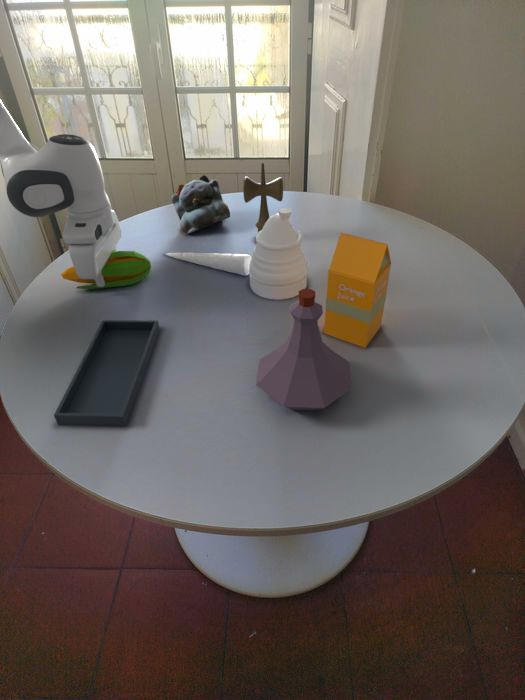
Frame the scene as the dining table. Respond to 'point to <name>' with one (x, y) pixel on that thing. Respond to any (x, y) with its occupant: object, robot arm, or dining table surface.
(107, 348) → the tray
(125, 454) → the dining table surface
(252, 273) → the honey pot
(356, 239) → the orange juice
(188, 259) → the unicorn horn
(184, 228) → the lucky cat figurine
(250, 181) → the kendama
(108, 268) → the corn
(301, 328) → the flask
